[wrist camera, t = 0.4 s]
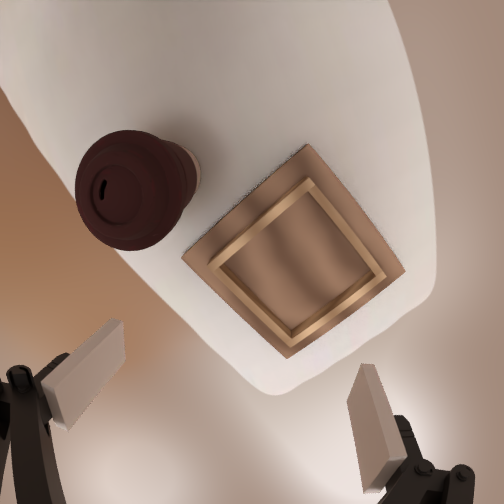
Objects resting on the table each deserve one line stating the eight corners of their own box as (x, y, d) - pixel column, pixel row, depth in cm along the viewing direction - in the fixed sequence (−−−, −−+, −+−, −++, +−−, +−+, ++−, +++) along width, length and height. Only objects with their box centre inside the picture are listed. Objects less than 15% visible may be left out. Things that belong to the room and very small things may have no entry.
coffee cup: (230, 179, 35) (203, 203, 21) (169, 230, 38) (116, 281, 24) (177, 116, 33) (119, 102, 19) (120, 171, 36) (45, 192, 21)
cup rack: (307, 143, 33) (311, 143, 30) (401, 267, 38) (411, 277, 34) (184, 253, 39) (176, 264, 35) (286, 352, 43) (287, 368, 40)
